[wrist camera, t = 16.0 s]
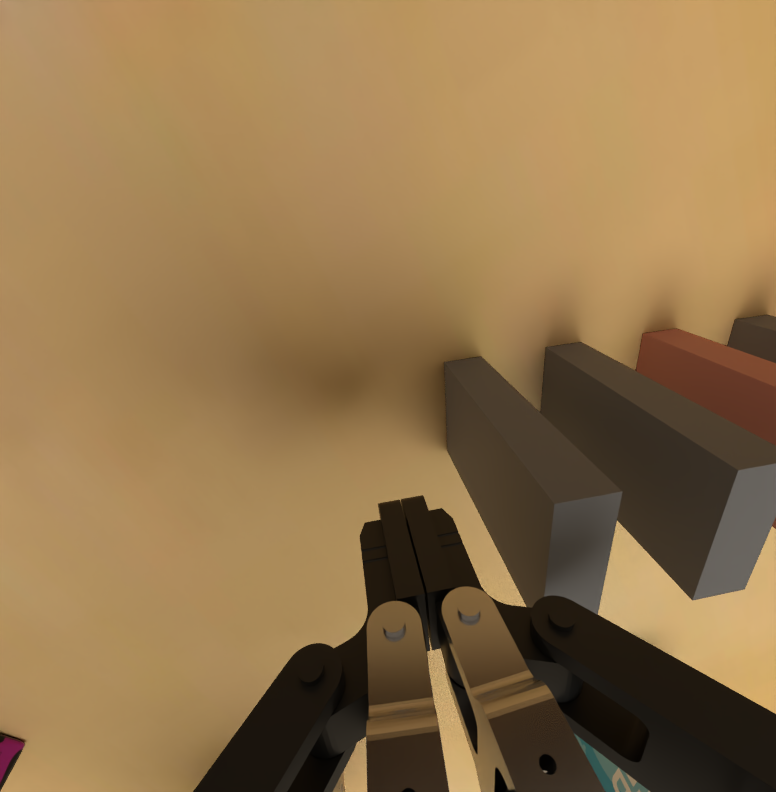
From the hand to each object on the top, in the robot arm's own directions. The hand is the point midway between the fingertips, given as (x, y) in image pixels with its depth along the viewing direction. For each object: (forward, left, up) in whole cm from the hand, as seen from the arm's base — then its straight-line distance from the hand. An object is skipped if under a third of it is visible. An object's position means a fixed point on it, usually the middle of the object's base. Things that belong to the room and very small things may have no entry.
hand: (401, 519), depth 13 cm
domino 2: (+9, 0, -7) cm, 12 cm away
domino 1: (+4, 0, -7) cm, 8 cm away
